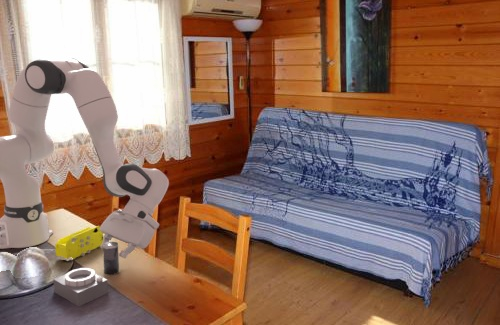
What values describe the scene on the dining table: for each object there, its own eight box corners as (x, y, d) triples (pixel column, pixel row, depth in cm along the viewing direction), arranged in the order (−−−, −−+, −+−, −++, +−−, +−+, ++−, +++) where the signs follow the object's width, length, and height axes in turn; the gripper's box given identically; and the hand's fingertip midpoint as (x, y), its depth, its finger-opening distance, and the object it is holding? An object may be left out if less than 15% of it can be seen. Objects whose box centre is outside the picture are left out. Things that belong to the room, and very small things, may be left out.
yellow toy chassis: (68, 264, 133) (66, 240, 131) (55, 260, 135) (53, 237, 133) (104, 246, 147) (103, 224, 145) (92, 243, 149) (91, 221, 148)
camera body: (54, 292, 116) (52, 274, 114) (83, 279, 123) (82, 262, 122) (79, 306, 109) (77, 287, 108) (108, 292, 116) (107, 274, 115)
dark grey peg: (101, 272, 128) (99, 244, 126) (113, 266, 131) (112, 240, 130) (110, 276, 125) (108, 248, 124) (122, 270, 129) (120, 244, 127)
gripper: (110, 203, 137) (85, 240, 131) (151, 216, 125) (126, 257, 120) (121, 212, 141) (98, 248, 136) (163, 226, 130) (139, 266, 124)
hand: (112, 252), depth 128 cm, fingers open, 8 cm apart
